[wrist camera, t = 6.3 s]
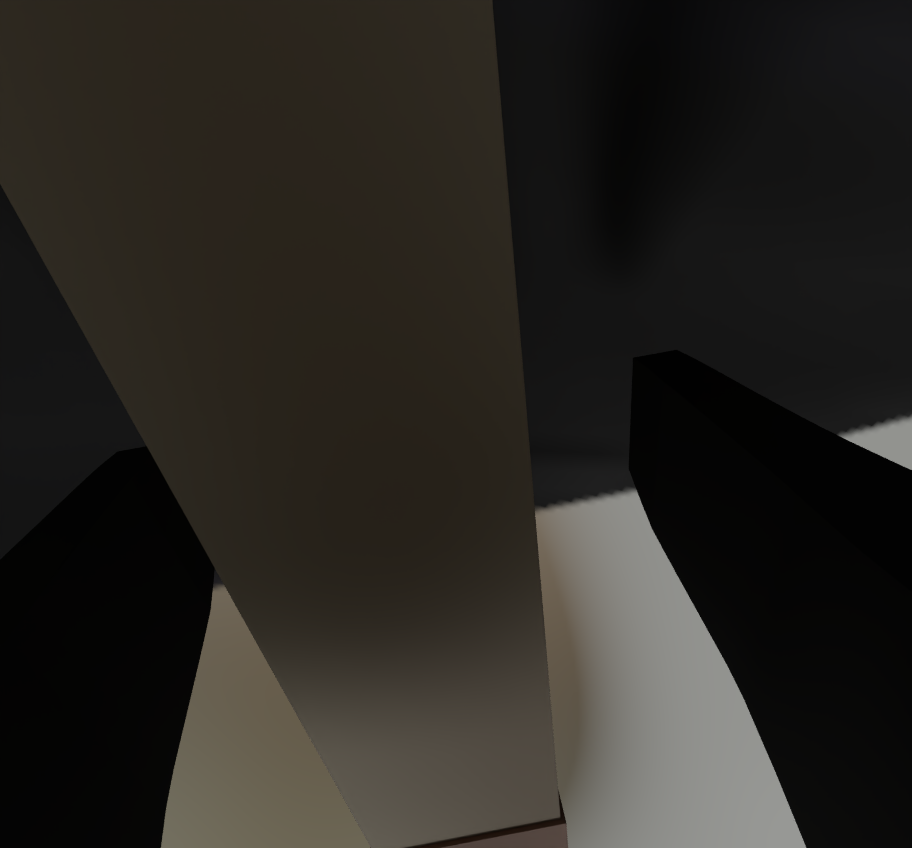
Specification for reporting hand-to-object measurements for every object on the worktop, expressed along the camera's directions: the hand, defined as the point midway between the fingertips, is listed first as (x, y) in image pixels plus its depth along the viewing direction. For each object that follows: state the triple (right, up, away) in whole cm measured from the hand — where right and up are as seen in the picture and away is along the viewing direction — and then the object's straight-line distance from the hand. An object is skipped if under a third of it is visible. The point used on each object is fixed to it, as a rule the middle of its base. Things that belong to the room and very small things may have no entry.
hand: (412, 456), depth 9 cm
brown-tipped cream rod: (-1, +4, -1) cm, 4 cm away
